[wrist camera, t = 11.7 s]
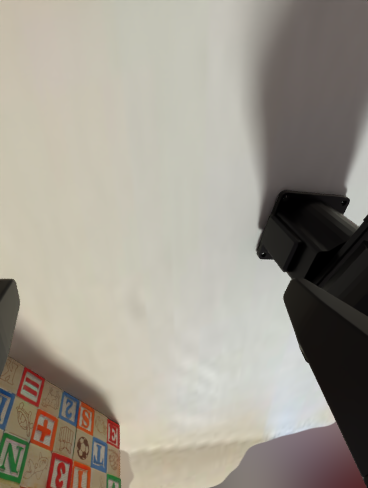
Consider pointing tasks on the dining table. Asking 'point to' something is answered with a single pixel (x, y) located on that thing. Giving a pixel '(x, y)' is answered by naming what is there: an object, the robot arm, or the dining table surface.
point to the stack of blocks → (53, 436)
